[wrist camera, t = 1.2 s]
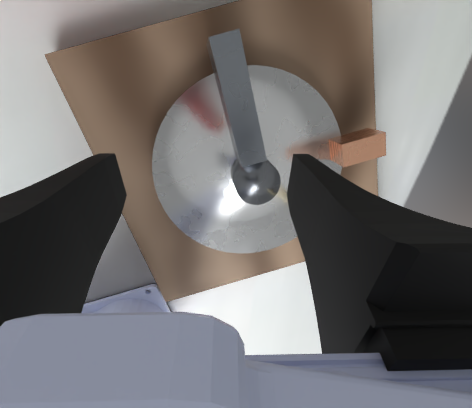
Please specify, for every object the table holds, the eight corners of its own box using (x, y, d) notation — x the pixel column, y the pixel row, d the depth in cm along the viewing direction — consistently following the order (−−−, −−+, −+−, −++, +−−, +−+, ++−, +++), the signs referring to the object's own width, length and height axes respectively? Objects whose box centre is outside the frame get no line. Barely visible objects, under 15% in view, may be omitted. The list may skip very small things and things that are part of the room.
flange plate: (189, 265, 24) (188, 298, 20) (111, 73, 17) (88, 70, 13) (365, 214, 24) (395, 237, 20) (353, 5, 17) (395, -16, 14)
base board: (167, 291, 27) (165, 302, 25) (56, 57, 18) (44, 54, 17) (370, 231, 27) (379, 239, 26) (357, -28, 18) (370, -37, 17)
